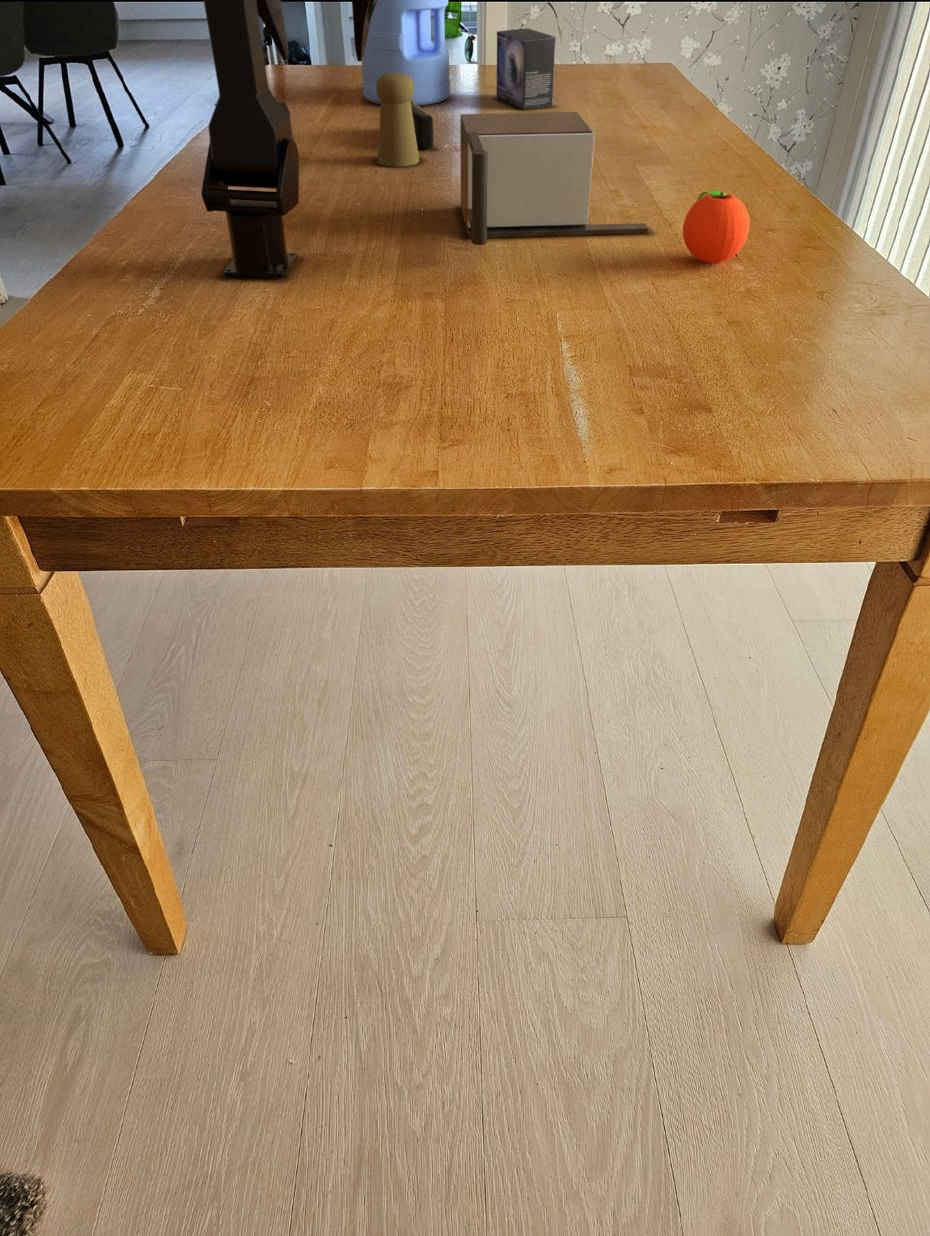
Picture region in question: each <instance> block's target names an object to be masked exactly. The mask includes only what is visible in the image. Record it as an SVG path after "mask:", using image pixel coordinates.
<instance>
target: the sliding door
mask: <svg viewBox="0 0 930 1236" xmlns="http://www.w3.org/2000/svg"><path fill="white" fill-rule="evenodd" d="M595 136H596V135H595V132H593V133H567V134H521V135H478V133H477V132H468V228H471V231H472V238H471V243H472V245H475V246H483V245H486V244H487V242H488V238H487V227H512V226H549V225H589V212H590V199H591V186H592V175H593V163H594V161H593V159H594V149H595V148H594V146H595Z"/></svg>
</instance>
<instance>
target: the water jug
mask: <svg viewBox="0 0 930 1236" xmlns="http://www.w3.org/2000/svg"><path fill="white" fill-rule="evenodd" d="M448 5H449V0H378V1H377V3H376V6H375V9H374V12H373V15H372V18H371V22H370V27H369V32H368V37H367V42H366V47H365V52H364V57H363V60H362V61H361V74H362V82H361V87H362V95H363V97H364V99H365V100H367V101H368V102H371V103H373V104H376V105H381V101H380V99H379V98H378V95H377V92H376V85H377V81H378V79H379V77H380V76H381V75H384V74H388V73H402V74H406V75H408V76H410V77H411V79H412V80H413V84H414V93H413V97H412V100H413V101H414V102H415V103H416V104H417V106H419V107H421V106H428V105H433V104H437V103H441V102H443V101H445V100H447V99H448V98H449V96H450V94H451V81H450V52H449V50H448V49H447V48H446V33H445V32H446V31H445V30H446V28H445V22H446V21H445V11H446V7H447V6H448ZM431 11H432V13H433V33H434V34H433V36H434V39H433V40H434V41H433V42H434V44H433V42H432V20H431V19H432V18H431Z"/></svg>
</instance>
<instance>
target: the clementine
mask: <svg viewBox="0 0 930 1236" xmlns="http://www.w3.org/2000/svg"><path fill="white" fill-rule="evenodd" d="M686 213H687V214H686V215H685V218H684V221H683V225H682V238H683V240H684V244H685V247H686V249H687V250H688V252H689V253H690V254H691V255H692V256H693V257H695V259H697V260H700V261H702V262H704V263H709V264H716V263H723V262H725V261H727V260H729V259H731V258H733V257H734V256H735V255H736V254H737V253H738V252H739V251H741V250H742V248H743V247H744V245H745V244H746V242H747V239H748V236H749V233H750V223H751V222H750V221H751V220H750V216H749V212H748V210H747V208H746V207H745V205H744V203H743V202H742V201H741V200H740V199H739V198H737V197H736V196H735V195H733V194H730V193H726V192H723V191H721V190H709V191H703V192H701V193H700V194H699V195H698V197H697V199H696V202H694V203H693V205H692V206H691V207H690V208H689V210H688V211H687V212H686Z"/></svg>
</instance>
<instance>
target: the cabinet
mask: <svg viewBox="0 0 930 1236" xmlns="http://www.w3.org/2000/svg"><path fill="white" fill-rule="evenodd" d="M459 120H460V122H459V123H460V127H459V128H460V130H459V131H460V133H459V135H460V136H459V137H460V141H459V142H460V210H461V212H462V217H463V222H464V225H465V229H466V232H467V237H468V239H472V231H471V228H468V132H477V133H478V135H521V134H567V133H594V132H593V130H592V129H591V128H590V126H589V125H588V124H587V123H586V121H585V120H584V119H583V118H582V116H581V114H579V112H578V111H557V112H556V111H555V112H507V113H505V112H504V113H502V112H501V113H461V114H460V119H459ZM648 233H649V227H648V226H647V224H646V223H645V222H637V223H636V222H635V223H608V224H607V223H605V224H602V223H599V224H586V225H549V226H512V227H487V239H502V238H503V239H504V238H534V237H571V236H573V237H574V236H608V235H609V236H610V235H643V234H645V235H646V234H648Z"/></svg>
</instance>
